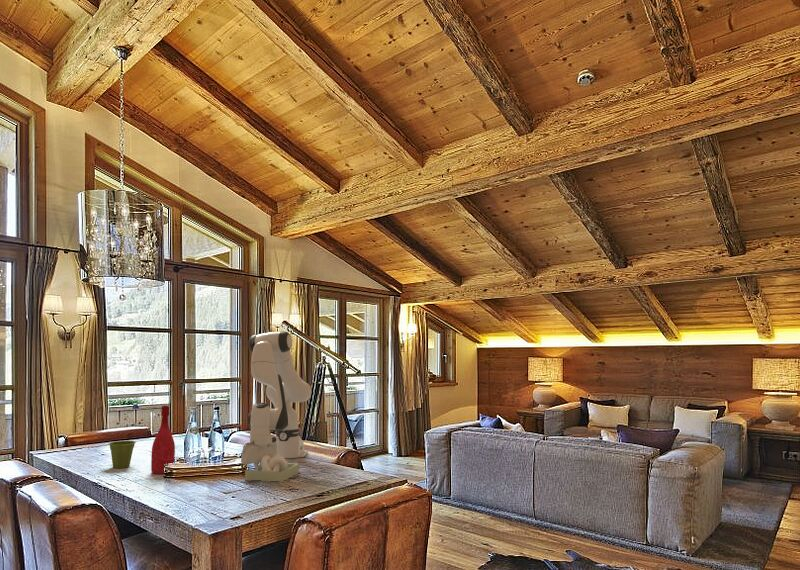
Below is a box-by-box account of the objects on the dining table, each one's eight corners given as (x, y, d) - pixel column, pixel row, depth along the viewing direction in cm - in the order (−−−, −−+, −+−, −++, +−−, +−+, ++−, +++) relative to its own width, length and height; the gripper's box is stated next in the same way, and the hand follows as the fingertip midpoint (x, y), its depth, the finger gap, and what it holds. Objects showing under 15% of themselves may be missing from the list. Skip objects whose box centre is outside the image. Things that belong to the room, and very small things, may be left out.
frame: (264, 470, 276) (264, 461, 276) (298, 472, 273) (299, 463, 273) (244, 480, 256) (245, 470, 257) (282, 482, 253) (282, 472, 254)
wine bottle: (158, 475, 264) (161, 407, 267) (146, 472, 269) (149, 405, 272) (178, 472, 271) (181, 405, 274) (166, 469, 277) (169, 403, 280)
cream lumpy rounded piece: (273, 479, 258) (273, 458, 259) (252, 476, 264) (253, 455, 265) (290, 474, 268) (290, 454, 268) (269, 471, 274) (270, 451, 274)
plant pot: (104, 466, 283) (105, 442, 284) (130, 463, 290) (131, 439, 291) (110, 470, 274) (112, 445, 275) (137, 467, 281) (139, 443, 282)
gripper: (249, 443, 257) (248, 476, 255) (279, 437, 275) (278, 468, 273) (238, 442, 260) (237, 475, 258) (269, 436, 278) (268, 466, 276)
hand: (258, 471), depth 266 cm, fingers closed
